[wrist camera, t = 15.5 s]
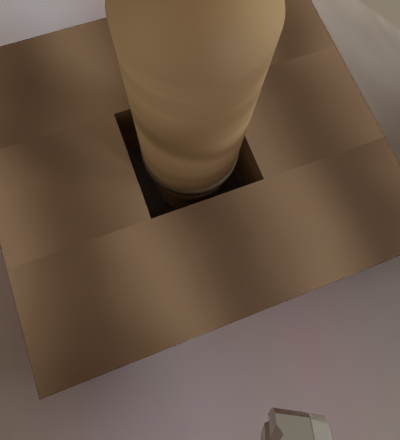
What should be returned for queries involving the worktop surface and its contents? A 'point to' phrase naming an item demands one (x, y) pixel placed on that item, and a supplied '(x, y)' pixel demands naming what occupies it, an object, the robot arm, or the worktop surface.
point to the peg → (193, 84)
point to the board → (184, 217)
